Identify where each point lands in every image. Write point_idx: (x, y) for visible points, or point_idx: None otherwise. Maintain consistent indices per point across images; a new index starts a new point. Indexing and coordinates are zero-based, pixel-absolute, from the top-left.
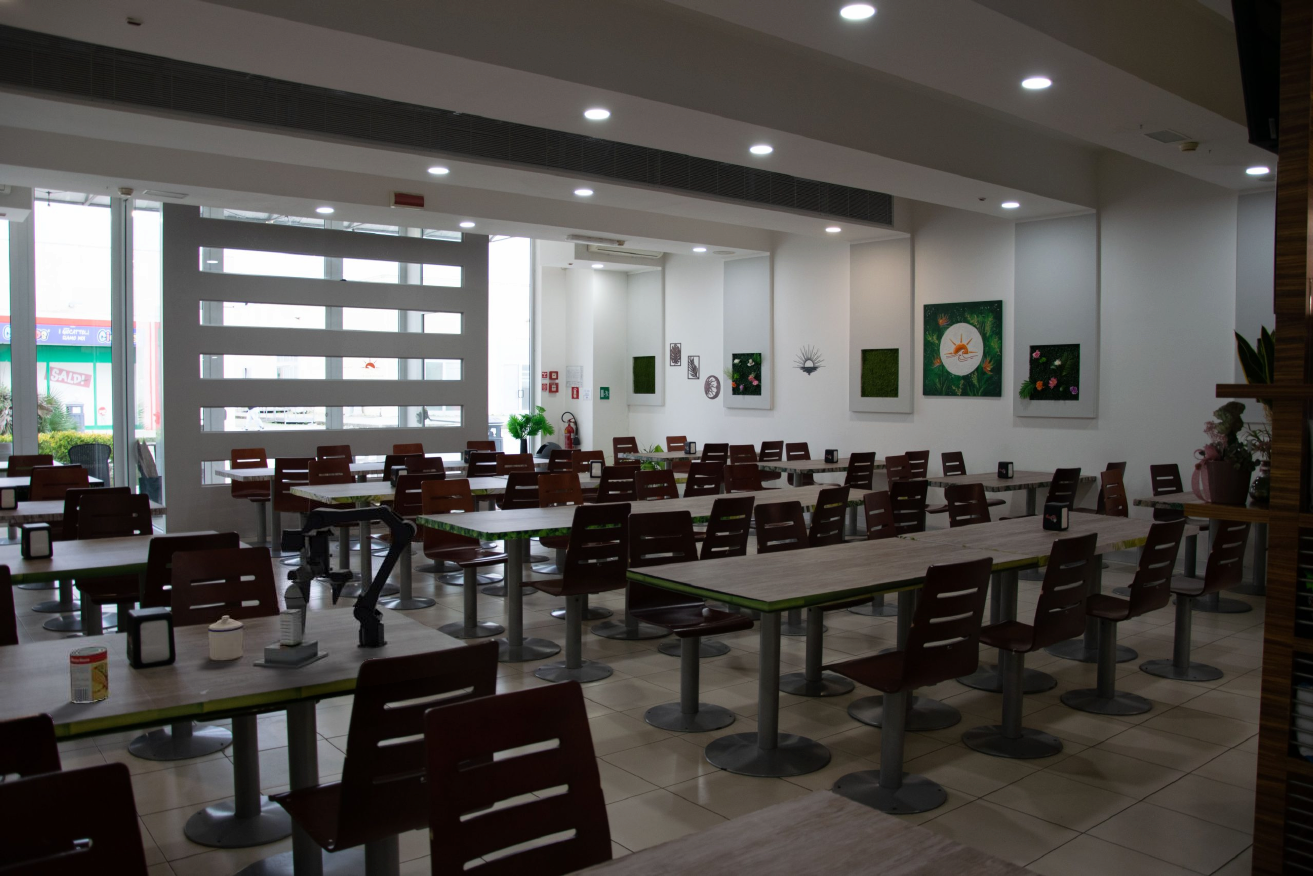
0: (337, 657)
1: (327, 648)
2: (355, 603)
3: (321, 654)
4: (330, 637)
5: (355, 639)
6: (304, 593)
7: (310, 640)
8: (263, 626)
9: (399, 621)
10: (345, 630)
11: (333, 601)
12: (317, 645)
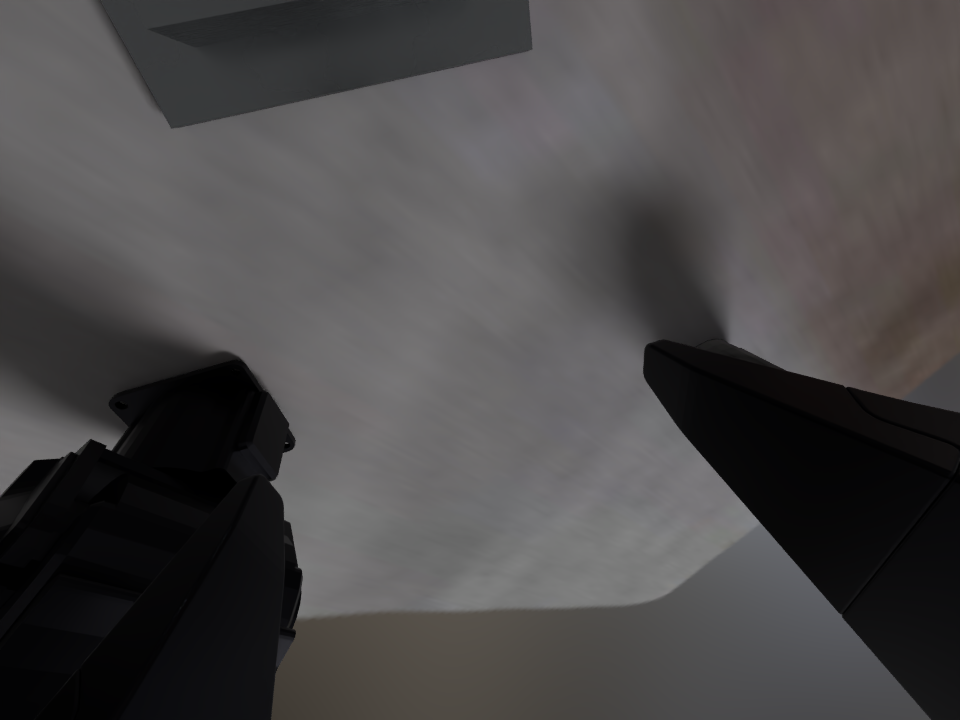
0: (45, 112)
1: (367, 258)
2: (9, 638)
3: (142, 41)
4: (527, 392)
5: (397, 430)
6: (782, 407)
7: (235, 9)
8: (859, 352)
9: (465, 599)
10: (548, 472)
11: (221, 517)
12: (165, 33)
